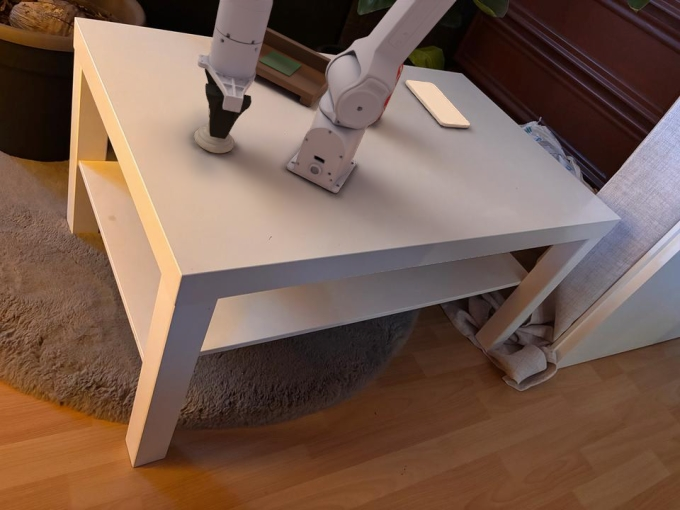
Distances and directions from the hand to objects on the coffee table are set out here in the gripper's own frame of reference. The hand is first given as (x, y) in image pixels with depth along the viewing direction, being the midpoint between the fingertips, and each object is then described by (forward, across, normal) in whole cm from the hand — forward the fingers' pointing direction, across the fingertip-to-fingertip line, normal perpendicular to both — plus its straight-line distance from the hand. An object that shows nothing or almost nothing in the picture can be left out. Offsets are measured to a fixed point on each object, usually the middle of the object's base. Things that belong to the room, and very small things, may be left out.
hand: (217, 127), depth 75 cm
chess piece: (+3, 0, 0) cm, 3 cm away
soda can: (+2, -16, +26) cm, 30 cm away
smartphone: (+2, -26, +44) cm, 51 cm away
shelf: (+2, -23, +12) cm, 26 cm away
